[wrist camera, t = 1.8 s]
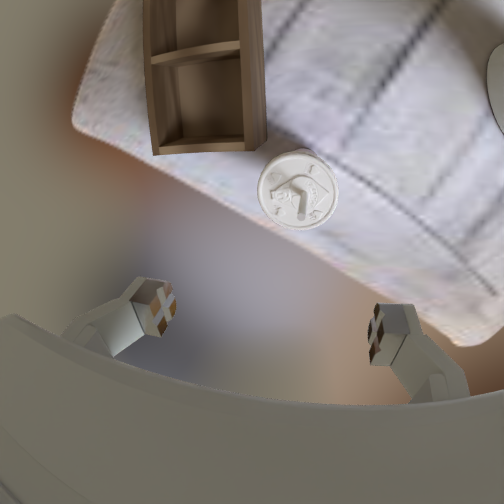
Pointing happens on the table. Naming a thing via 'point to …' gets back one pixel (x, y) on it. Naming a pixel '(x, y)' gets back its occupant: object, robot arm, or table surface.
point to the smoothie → (298, 190)
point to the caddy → (204, 75)
